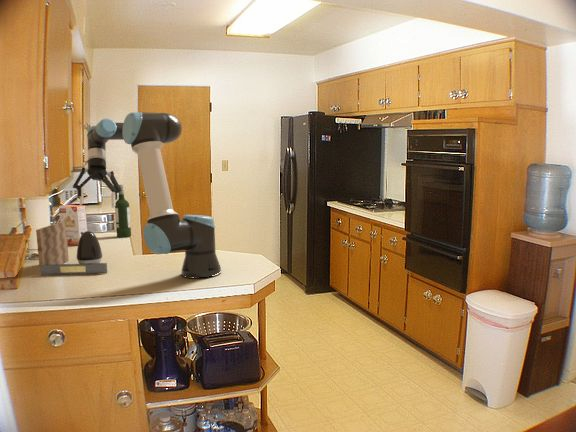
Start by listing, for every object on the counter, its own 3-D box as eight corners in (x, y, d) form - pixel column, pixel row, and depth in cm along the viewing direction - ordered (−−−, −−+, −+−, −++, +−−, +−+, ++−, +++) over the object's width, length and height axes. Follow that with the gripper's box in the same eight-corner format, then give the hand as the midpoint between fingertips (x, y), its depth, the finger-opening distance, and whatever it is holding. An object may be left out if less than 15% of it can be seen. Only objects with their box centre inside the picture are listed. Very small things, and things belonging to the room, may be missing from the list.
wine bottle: (116, 236, 293) (112, 184, 289) (130, 235, 296) (126, 183, 292) (117, 238, 286) (114, 185, 282) (132, 237, 289) (128, 184, 285)
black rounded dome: (94, 262, 224) (92, 228, 222) (107, 265, 217) (105, 230, 215) (72, 266, 216) (69, 231, 214) (85, 269, 210) (82, 233, 208)
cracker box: (61, 244, 272) (58, 205, 269) (71, 242, 277) (67, 204, 274) (79, 246, 265) (76, 206, 263) (88, 243, 271) (85, 205, 268)
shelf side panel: (43, 273, 205) (39, 229, 202) (40, 273, 205) (36, 230, 202) (68, 260, 229) (65, 221, 226) (65, 260, 229) (62, 221, 226)
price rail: (105, 273, 202) (105, 263, 201) (40, 275, 202) (39, 265, 201) (107, 272, 204) (106, 262, 203) (43, 274, 204) (42, 264, 203)
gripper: (121, 167, 235) (123, 210, 229) (64, 159, 220) (65, 205, 214) (127, 161, 229) (129, 205, 224) (69, 152, 214) (70, 199, 208)
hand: (97, 205), depth 219 cm, fingers open, 13 cm apart
